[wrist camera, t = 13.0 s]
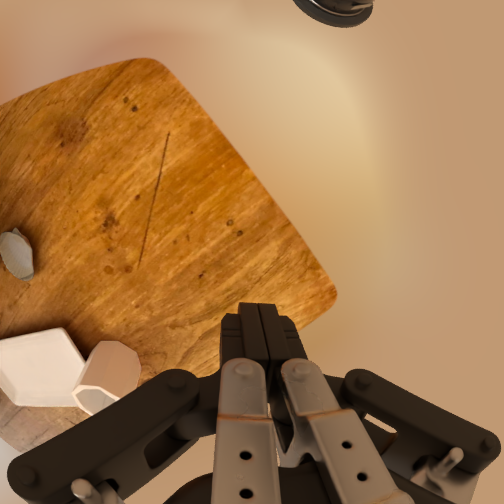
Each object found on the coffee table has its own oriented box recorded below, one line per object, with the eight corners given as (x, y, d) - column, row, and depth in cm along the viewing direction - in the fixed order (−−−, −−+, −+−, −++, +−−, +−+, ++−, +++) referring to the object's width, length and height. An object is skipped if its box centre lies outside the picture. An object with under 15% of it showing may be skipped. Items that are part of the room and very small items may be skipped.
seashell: (7, 244, 32) (28, 287, 33) (-6, 248, 29) (14, 294, 30) (24, 213, 30) (47, 261, 31) (9, 217, 27) (31, 268, 28)
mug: (83, 347, 38) (61, 388, 28) (122, 332, 37) (102, 378, 28) (125, 396, 42) (114, 439, 33) (164, 386, 41) (157, 433, 32)
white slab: (121, 392, 41) (117, 406, 38) (20, 397, 41) (15, 407, 38) (70, 314, 35) (60, 326, 32) (-22, 338, 35) (-30, 346, 32)
